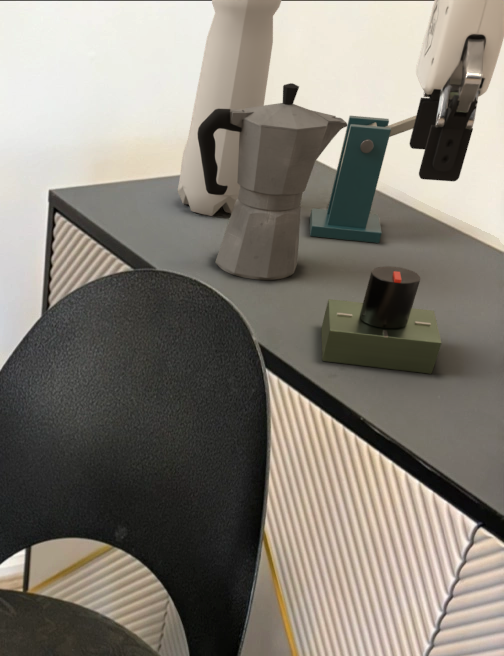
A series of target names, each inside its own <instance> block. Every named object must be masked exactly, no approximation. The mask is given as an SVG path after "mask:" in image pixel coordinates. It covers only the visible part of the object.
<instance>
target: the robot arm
mask: <svg viewBox="0 0 504 656" xmlns="http://www.w3.org/2000/svg"><path fill="white" fill-rule="evenodd" d="M503 43H504V0H434V1H433V5H432V8H431V12H430V16H429V19H428V24H427V27H426V31H425V34H424V38H423V41H422V44H421V48H420V51H419V55H418V59H417V62H416V63H417V64H416V67H415V74H416V77H417V80H418V82H419V84H420V87H421V89H422V91H423V97H420V99H419V103H418V107H417V111H416V115H415V116H416V119H415V123H414V127H413V129H412V132H411V135H410V139H409V147H410V149H413V150H424V151H423V155H422V158H421V159H422V160H421V163H420V168H419V170H418V176H419V178H420V179H421V180H428V181H439V182H440V181H441V182H456V181H458V179H460V176H461V174H462V169H463V165H464V163H465V159H466V155H467V152H468V148H469V144H470V141H471V137H472V134H473V132H474V131H473V130H474V128H473V127H474V124H475V120H476V119H475V118H476V113H477V107H478V103H479V102H478V101H479V97H481V96H483V95H484V94H485V93H487V91H488V89H489V87H490V84H491V81H492V78H493V75H494V73H495V69H496V65H497V62H498V60H499V56H500V52H501V49H502V46H503Z"/></svg>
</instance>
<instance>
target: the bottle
mask: <svg viewBox="0 0 504 656" xmlns="http://www.w3.org/2000/svg"><path fill="white" fill-rule="evenodd" d="M211 4H212V8H213V10H214V15H213V18H212V21H211V24H210V27H209V30H208V34H207V35H206V39H205V40H206V42H205V46H204V51H203V56H202V61H201V67H200V73H199V77H198V83H197V89H196V93H195V98H194V104H193V109H192V114H191V120H190V125H189V130H188V136H187V140H186V142H185V145H184V149H183V151H182V157H181V165H180V172H179V180H178V181H179V182H178V187H177V193H178V196H179V198H180V201H181V203H182V205H189V208H190V211H191V212H194V213H197V214H200V215H205V216H209V217H213V216H214V215H215V214H216V213H217V212H218V211H219V210H220V209H221V208H222V209H223V210H224V212H225V213H227V214H228V213H229V214H230V215H231V214H232V211H233V208H234V205H235V202H236V200H237V199H238V194H239V189H240V185H239V184H238V183H237V180H238V157H239V134H240V132H236V131H230V130H226V129H217V130H216V131H215V132H214V139H215V145H216V147H215V160H216V163H217V166H218V171H217V178H216V181H217V184H219V185H223V186H228V188H227V191H226V192H225V194H224V195H213V194H209V193H208V192H207V191H206V186H205V180H204V172H203V166H202V160H201V153H200V147H199V142H198V134H197V133H198V128H199V126H200V125H201V123H202V122H203V121H204V120H205V119H206V118H207V117H208V116H209V115H210V114H211V113H212V112H213V111H214V110H215V109H244V110H245V108H250V107H257V106H264V105H265V99H266V92H267V85H268V79H269V73H270V72H269V71H270V65H271V59H272V58H271V57H272V50H273V43H274V16H275V14H276V12H278V10H279V8H280V7H281V4H282V0H211Z"/></svg>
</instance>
